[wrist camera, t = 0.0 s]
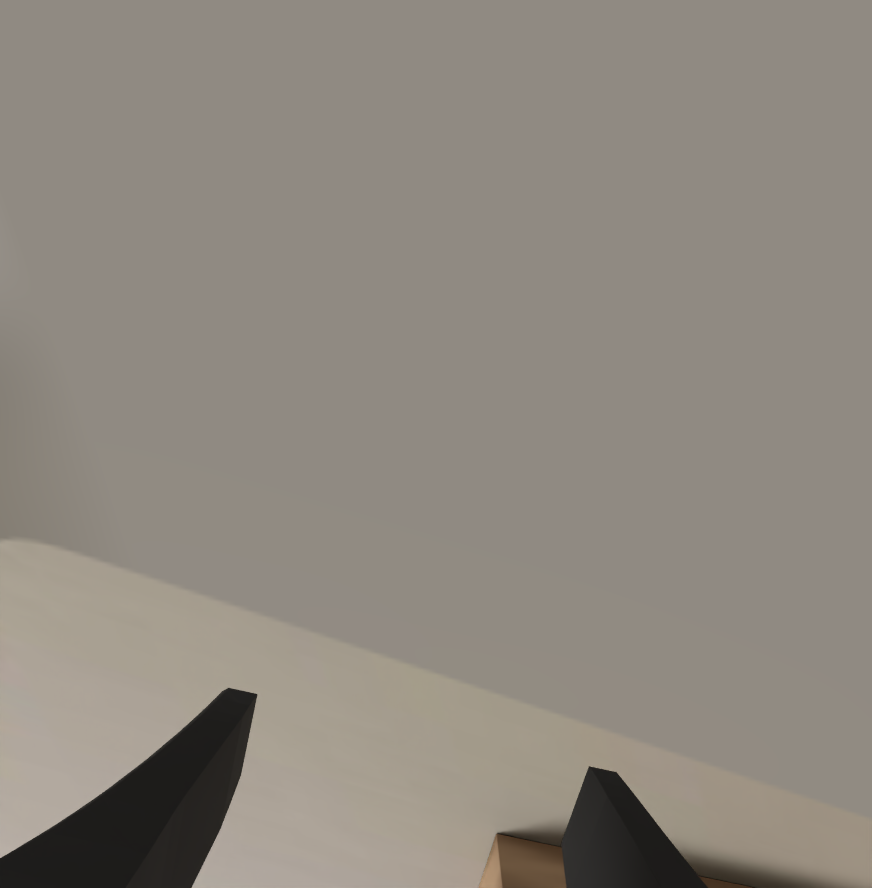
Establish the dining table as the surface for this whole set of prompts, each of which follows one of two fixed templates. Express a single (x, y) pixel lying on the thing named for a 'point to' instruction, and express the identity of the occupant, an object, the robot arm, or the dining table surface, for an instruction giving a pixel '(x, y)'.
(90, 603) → the dining table surface
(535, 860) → the block
